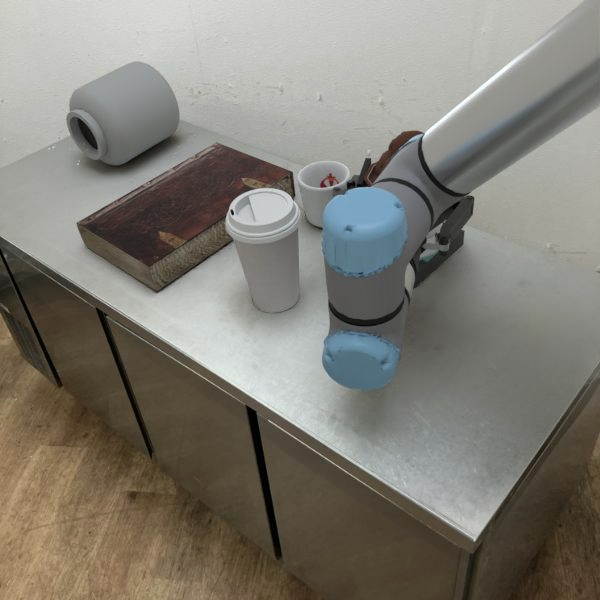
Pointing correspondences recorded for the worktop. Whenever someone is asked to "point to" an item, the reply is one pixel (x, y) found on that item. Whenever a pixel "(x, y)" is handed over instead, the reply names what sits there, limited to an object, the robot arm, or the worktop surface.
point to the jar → (122, 113)
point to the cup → (320, 187)
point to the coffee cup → (267, 246)
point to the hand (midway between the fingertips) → (409, 168)
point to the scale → (435, 256)
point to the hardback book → (178, 214)
